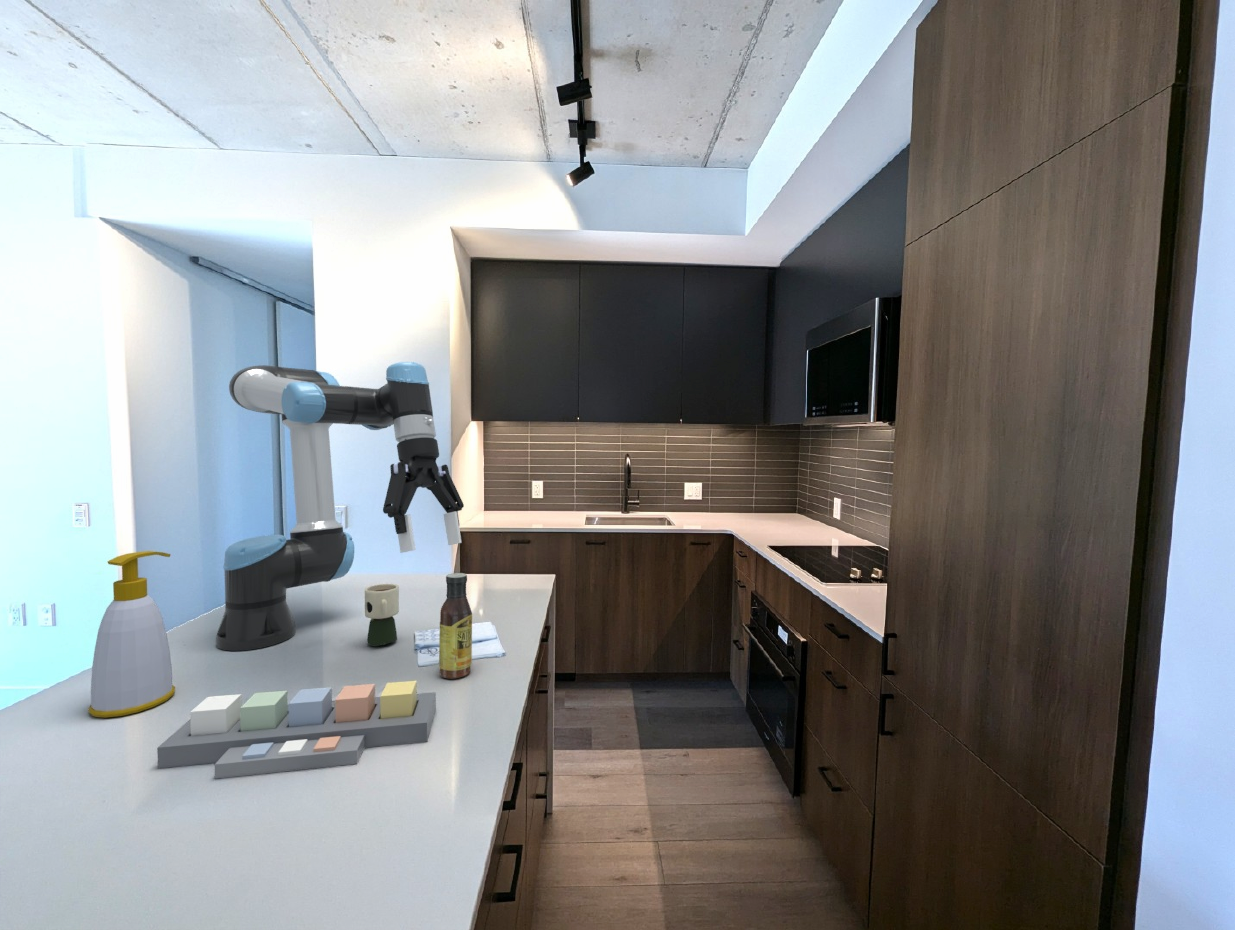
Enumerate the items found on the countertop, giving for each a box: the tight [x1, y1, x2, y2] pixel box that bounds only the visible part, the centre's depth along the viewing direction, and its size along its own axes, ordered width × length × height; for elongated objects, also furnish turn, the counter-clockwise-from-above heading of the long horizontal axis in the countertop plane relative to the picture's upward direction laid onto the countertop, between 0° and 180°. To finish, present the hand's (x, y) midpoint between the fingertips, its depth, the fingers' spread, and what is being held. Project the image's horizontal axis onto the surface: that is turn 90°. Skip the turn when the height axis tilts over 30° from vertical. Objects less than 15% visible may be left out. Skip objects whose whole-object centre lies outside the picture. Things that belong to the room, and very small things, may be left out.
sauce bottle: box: [438, 572, 473, 680], centre depth 104 cm, size 7×6×20 cm
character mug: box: [364, 583, 400, 647], centre depth 119 cm, size 11×7×13 cm, turn 30°
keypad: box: [156, 691, 437, 780], centre depth 80 cm, size 14×36×3 cm, turn 102°
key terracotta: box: [334, 683, 376, 723], centre depth 83 cm, size 5×5×4 cm
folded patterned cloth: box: [413, 621, 506, 668], centre depth 119 cm, size 19×20×2 cm
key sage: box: [240, 690, 289, 732], centre depth 80 cm, size 5×5×4 cm
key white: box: [189, 693, 243, 736], centre depth 79 cm, size 5×5×4 cm
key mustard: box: [380, 680, 418, 719], centre depth 84 cm, size 5×5×4 cm
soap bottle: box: [88, 550, 176, 719], centre depth 91 cm, size 11×12×26 cm
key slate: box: [288, 686, 333, 727], centre depth 82 cm, size 5×5×4 cm
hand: (433, 547), depth 100 cm, fingers open, 13 cm apart
